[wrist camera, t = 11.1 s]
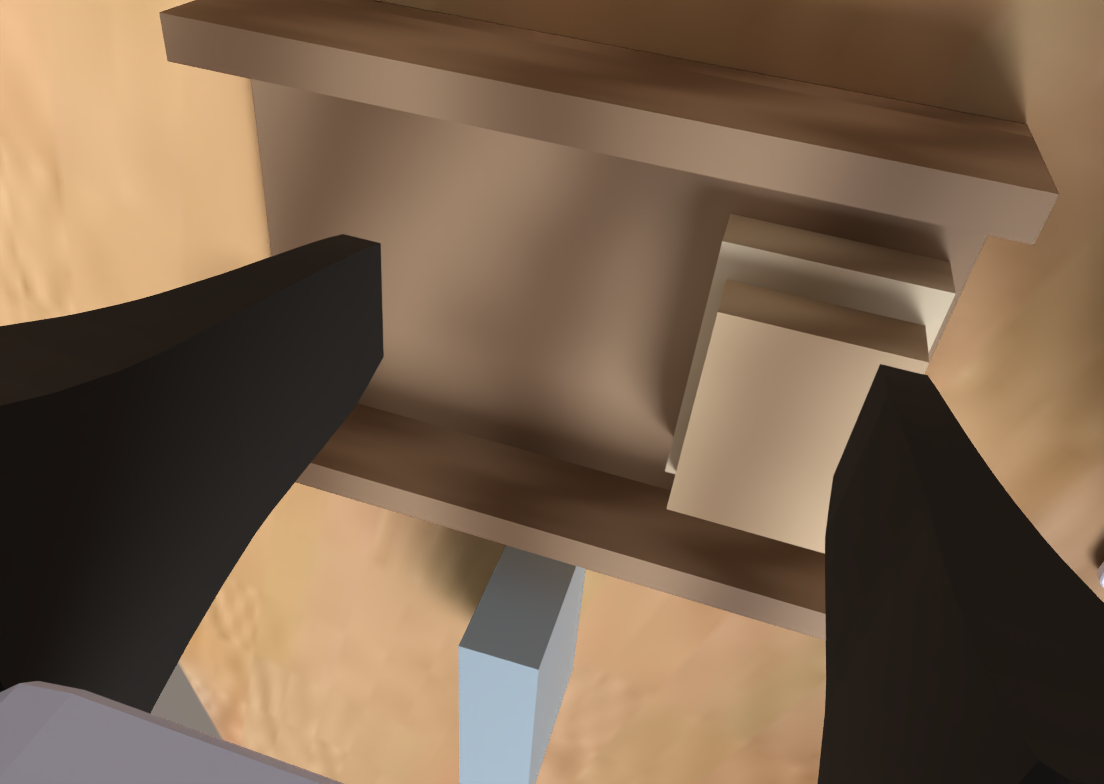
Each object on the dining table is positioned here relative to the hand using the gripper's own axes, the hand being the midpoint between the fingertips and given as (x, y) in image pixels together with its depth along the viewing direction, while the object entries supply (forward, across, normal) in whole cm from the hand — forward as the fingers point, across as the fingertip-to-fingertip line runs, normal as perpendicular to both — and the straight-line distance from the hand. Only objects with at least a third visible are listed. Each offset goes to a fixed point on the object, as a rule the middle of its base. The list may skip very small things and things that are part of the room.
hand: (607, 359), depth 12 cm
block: (+10, +2, +18) cm, 21 cm away
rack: (+10, +2, +5) cm, 11 cm away
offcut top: (+8, -4, +5) cm, 10 cm away
